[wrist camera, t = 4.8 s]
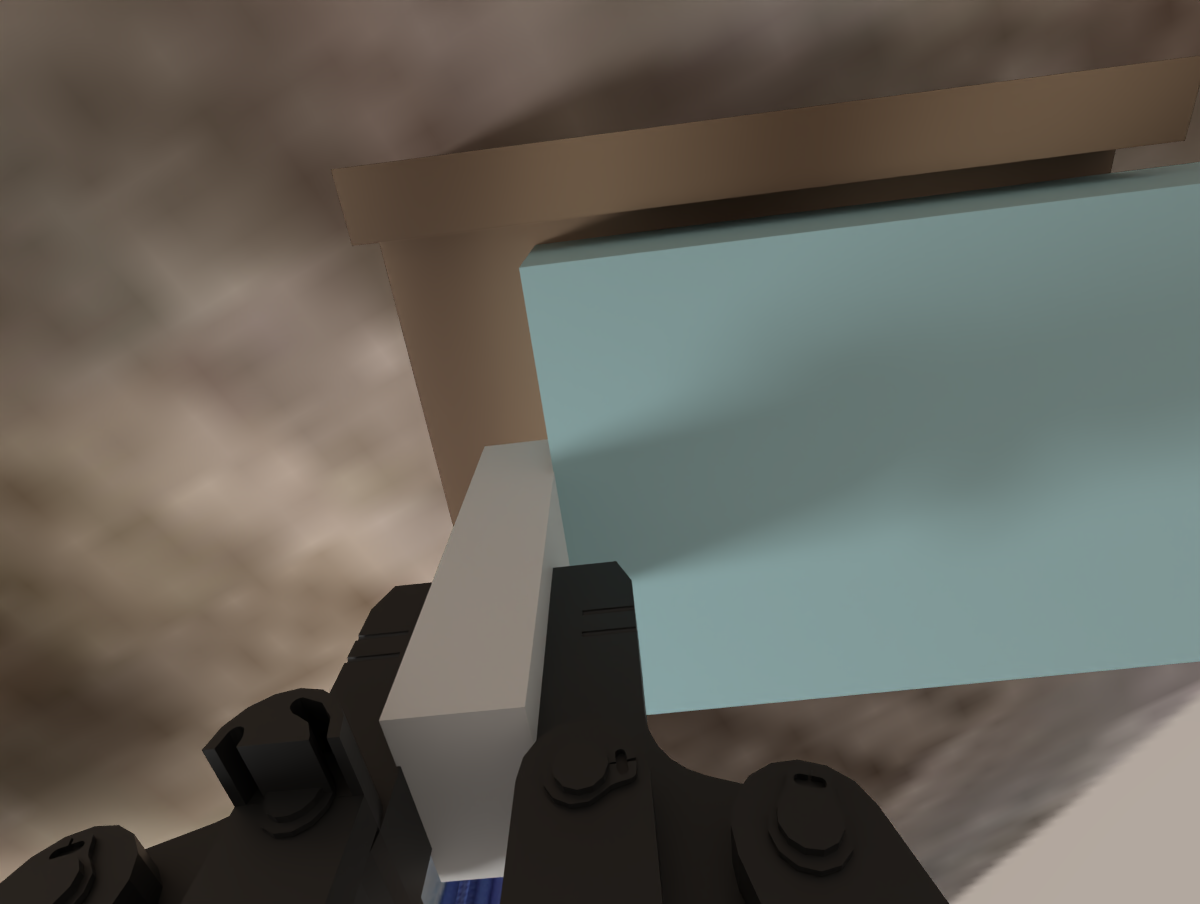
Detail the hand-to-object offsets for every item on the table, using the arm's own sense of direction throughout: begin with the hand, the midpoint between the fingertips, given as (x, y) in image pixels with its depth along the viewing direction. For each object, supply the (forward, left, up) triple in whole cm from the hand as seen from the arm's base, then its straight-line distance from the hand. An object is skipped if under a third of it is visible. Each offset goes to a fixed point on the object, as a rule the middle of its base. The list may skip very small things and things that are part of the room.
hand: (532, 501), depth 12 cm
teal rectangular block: (+8, 0, -2) cm, 8 cm away
